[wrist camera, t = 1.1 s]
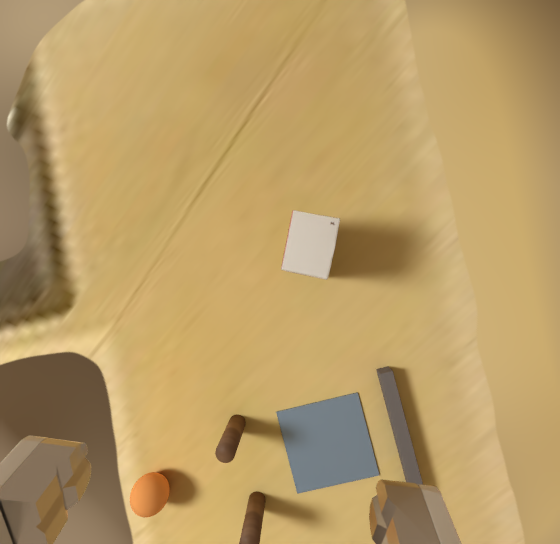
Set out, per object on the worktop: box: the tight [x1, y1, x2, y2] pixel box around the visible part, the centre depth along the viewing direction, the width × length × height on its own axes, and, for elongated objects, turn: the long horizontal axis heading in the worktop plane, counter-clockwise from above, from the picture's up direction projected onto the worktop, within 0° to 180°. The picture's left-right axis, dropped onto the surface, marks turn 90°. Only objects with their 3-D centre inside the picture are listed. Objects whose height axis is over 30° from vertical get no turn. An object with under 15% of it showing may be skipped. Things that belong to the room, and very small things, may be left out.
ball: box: [130, 472, 170, 517], centre depth 52 cm, size 6×6×6 cm
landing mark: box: [276, 392, 379, 493], centre depth 53 cm, size 14×14×1 cm
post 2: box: [239, 492, 265, 544], centre depth 49 cm, size 3×3×9 cm
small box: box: [281, 210, 340, 279], centre depth 47 cm, size 8×6×13 cm
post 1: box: [216, 415, 245, 463], centre depth 50 cm, size 3×3×9 cm
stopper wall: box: [376, 367, 423, 485], centre depth 51 cm, size 20×2×2 cm, turn 15°
